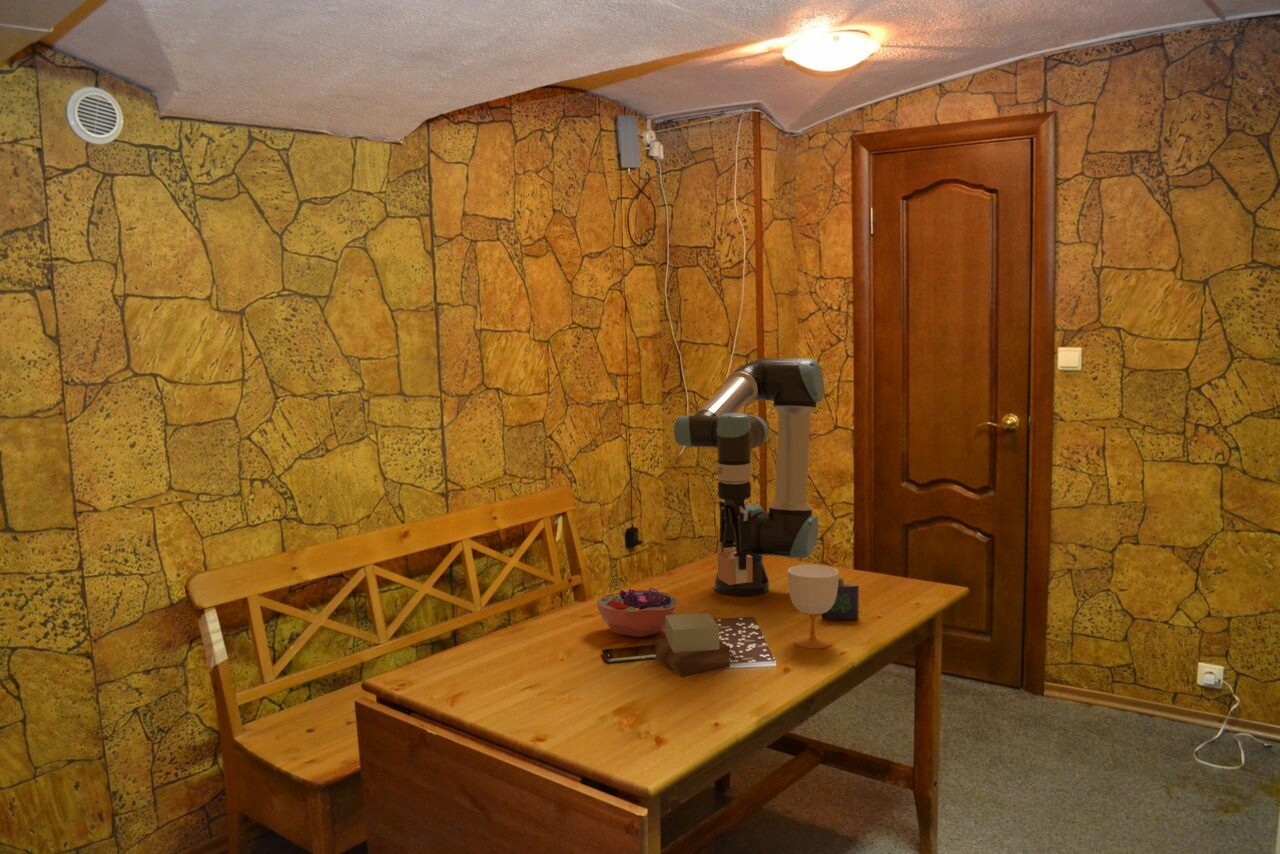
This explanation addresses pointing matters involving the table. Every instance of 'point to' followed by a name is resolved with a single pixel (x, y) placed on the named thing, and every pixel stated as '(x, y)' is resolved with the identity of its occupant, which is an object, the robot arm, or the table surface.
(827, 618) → the flask
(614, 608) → the cell model
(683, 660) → the tower base
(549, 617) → the table surface
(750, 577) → the block
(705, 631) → the tower top
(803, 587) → the cup
